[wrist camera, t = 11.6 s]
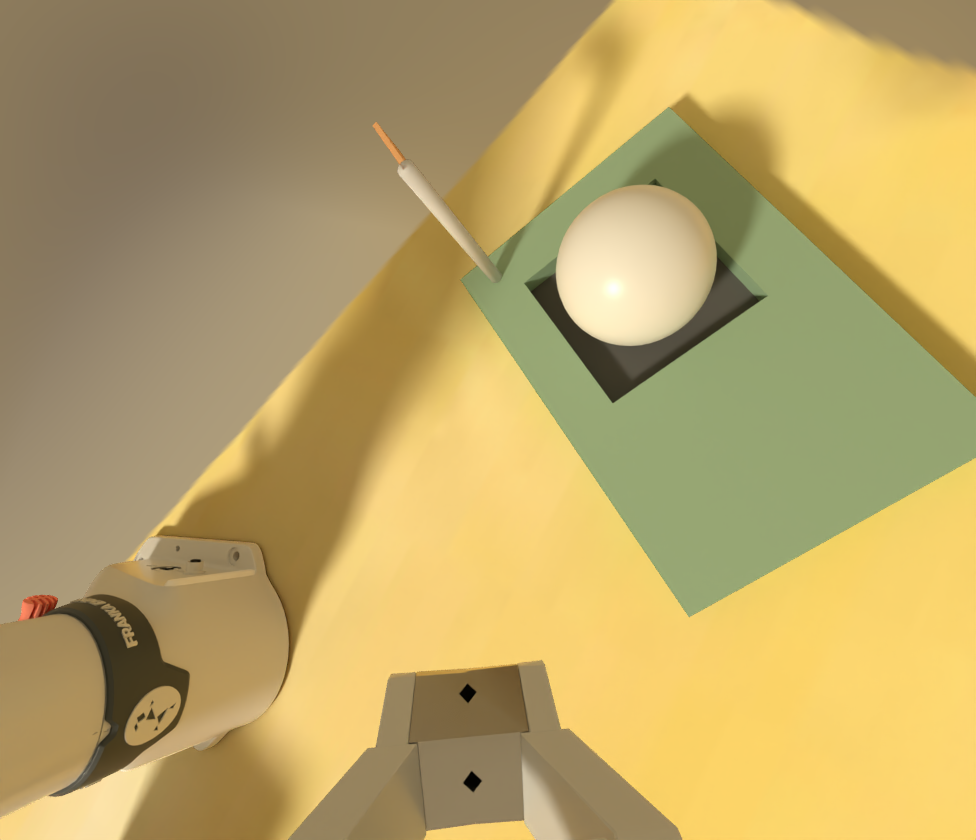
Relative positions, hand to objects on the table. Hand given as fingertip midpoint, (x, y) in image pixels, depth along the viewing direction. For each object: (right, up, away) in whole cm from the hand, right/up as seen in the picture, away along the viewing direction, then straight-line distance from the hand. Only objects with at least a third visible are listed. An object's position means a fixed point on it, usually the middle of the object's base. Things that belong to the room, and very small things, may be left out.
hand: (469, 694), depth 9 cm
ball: (+10, +15, +22) cm, 29 cm away
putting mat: (+14, +11, +26) cm, 31 cm away
